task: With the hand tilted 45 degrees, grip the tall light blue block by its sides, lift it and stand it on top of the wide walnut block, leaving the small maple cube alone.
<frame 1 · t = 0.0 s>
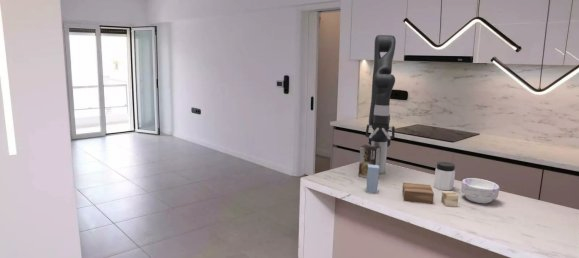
hand: (379, 145, 203), 17 cm above the counter, tool pointing down, fingers open, 8 cm apart
walnut block: (416, 198, 180), on the counter
maple cube: (449, 204, 173), on the counter
light blue block: (371, 191, 187), on the counter
coffee box: (368, 176, 209), on the counter
jar: (443, 188, 195), on the counter
paper bowls: (478, 200, 180), on the counter
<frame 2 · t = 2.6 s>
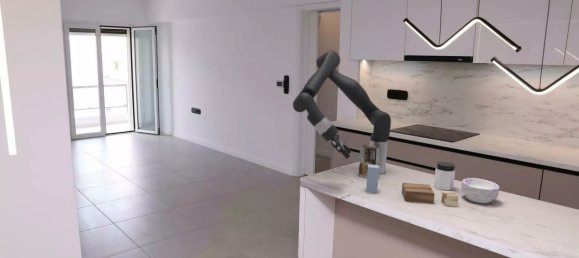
hand: (349, 155, 186), 16 cm above the counter, tool tilted 45°, fingers open, 8 cm apart
nothing on the counter moved.
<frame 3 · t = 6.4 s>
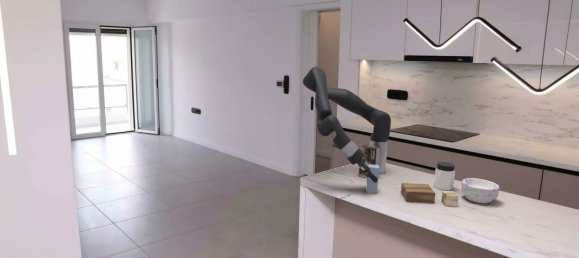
hand: (376, 179, 185), 6 cm above the counter, tool tilted 45°, fingers closed on light blue block, 5 cm apart
light blue block: (371, 191, 187), on the counter, touching gripper
everything else where it was.
when the fingers open (12 cm above the counter, at t = 12.6 s): light blue block drops 2 cm, resting on walnut block.
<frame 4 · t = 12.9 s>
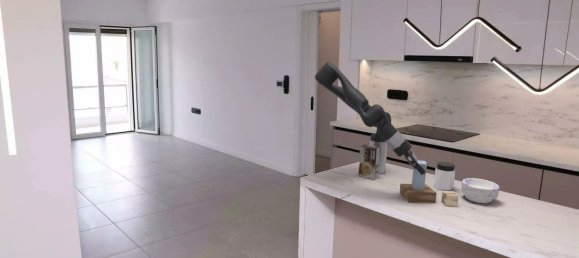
hand: (422, 171, 177), 13 cm above the counter, tool tilted 45°, fingers open, 8 cm apart
walnut block: (416, 198, 180), on the counter, touching light blue block
light blue block: (417, 187, 179), point 5 cm above the counter, touching walnut block
everything else where it was.
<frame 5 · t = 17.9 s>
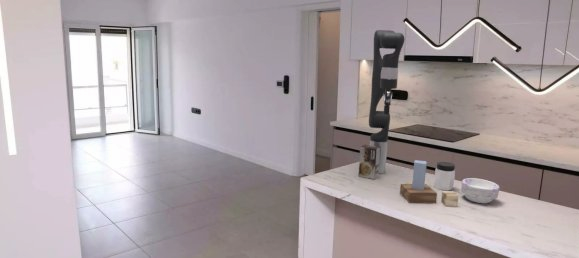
hand: (386, 113, 185), 36 cm above the counter, tool pointing down, fingers open, 8 cm apart
nothing on the counter moved.
at the end: light blue block inside the target area on the walnut block (0.2 cm from its centre), point 5.0 cm above the walnut block's base; light blue block tilted 1°; the gripper is holding nothing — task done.
